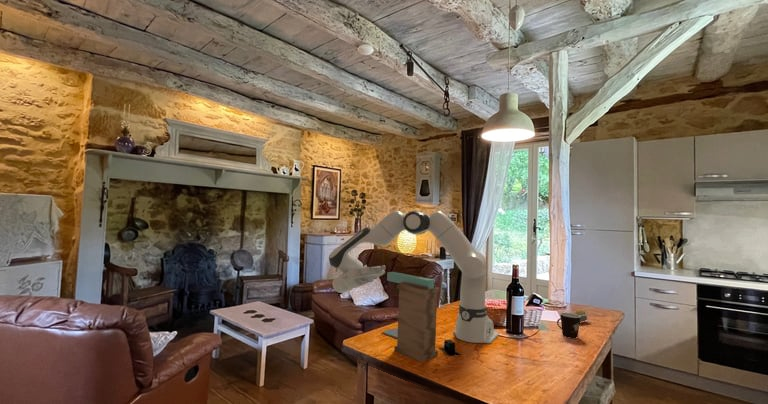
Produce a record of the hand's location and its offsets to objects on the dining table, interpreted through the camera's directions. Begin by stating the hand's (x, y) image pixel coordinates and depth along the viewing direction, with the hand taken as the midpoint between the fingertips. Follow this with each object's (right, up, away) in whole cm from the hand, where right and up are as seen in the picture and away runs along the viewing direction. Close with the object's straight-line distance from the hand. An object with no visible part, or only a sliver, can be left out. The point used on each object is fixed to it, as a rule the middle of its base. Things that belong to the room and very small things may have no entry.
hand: (377, 267), depth 154 cm
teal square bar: (+13, -5, -12) cm, 19 cm away
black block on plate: (+30, -33, -13) cm, 46 cm away
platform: (+111, -38, +36) cm, 123 cm away
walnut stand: (+16, -31, -16) cm, 38 cm away
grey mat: (+13, -32, +1) cm, 34 cm away
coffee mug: (+91, -35, +13) cm, 98 cm away
